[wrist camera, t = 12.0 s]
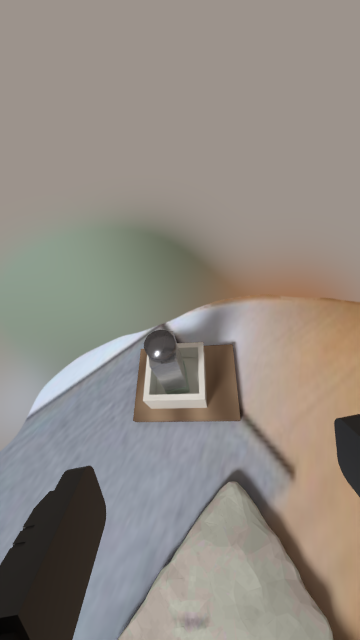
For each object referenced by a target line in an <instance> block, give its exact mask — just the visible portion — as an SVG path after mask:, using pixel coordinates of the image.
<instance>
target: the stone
mask: <svg viewBox="0 0 360 640" xmlns="http://www.w3.org/2000/svg"><path fill="white" fill-rule="evenodd" d="M228 550H229V551H228ZM118 640H333V635H332V630H331V627H330V625H329V622H328V620H327V618H326V617H325V615H324V614H323V613H322V611H321V610H320V609H319V607H318V606H317V604H316V603H315V602H314V600H313V599H312V597H311V596H310V594H309V593H308V591H307V590H306V588H305V586H304V584H303V582H302V580H301V577H300V575H299V572H298V570H297V568H296V567H295V565H294V563H293V562H292V560H291V559H290V557H289V556H288V555H287V553H286V551H285V549H284V547H283V545H282V543H281V541H280V539H279V538H278V536H277V535H276V534H275V533H274V532H273V531H272V530H271V529H270V527H269V526H268V524H267V523H266V521H265V520H264V518H263V516H262V515H261V513H260V511H259V509H258V508H257V506H256V505H255V503H254V502H253V501H252V499H251V498H250V496H249V495H248V494H247V492H246V491H245V490H244V489H243V488H242V487H241V486H240V485H239V484H238V483H237V482H228V483H227V484H226V485H224V486H223V487H222V488H221V489H220V490H219V492H218V493H217V495H216V496H215V498H214V499H213V500H212V501H211V502H210V504H209V505H208V506H207V507H206V508H205V510H204V511H203V512H202V514H201V515H200V517H199V518H198V519H197V521H196V522H195V524H194V525H193V527H192V528H191V530H190V531H189V533H188V535H187V536H186V538H185V540H184V541H183V543H182V544H181V545H180V547H179V548H178V550H177V551H176V553H175V555H174V556H173V558H172V560H171V562H170V563H169V564H168V565H167V566H166V567H164V568H163V569H162V570H161V572H160V573H159V575H158V577H157V578H156V580H155V582H154V583H153V585H152V587H151V589H150V591H149V593H148V595H147V597H146V599H145V601H144V602H143V604H142V605H141V607H140V608H139V610H138V611H137V613H136V614H135V615H134V617H133V618H132V619H131V621H130V623H129V625H128V626H127V627H126V628H125V629H124V631H123V632H122V634H121V635H120V637H119V638H118Z"/></svg>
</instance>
